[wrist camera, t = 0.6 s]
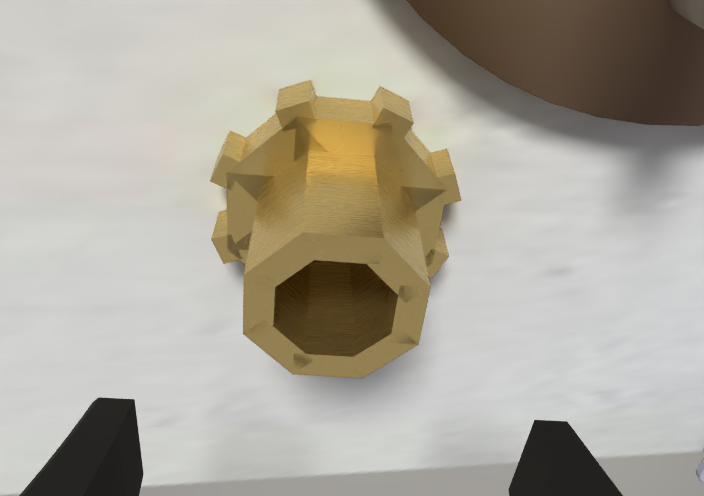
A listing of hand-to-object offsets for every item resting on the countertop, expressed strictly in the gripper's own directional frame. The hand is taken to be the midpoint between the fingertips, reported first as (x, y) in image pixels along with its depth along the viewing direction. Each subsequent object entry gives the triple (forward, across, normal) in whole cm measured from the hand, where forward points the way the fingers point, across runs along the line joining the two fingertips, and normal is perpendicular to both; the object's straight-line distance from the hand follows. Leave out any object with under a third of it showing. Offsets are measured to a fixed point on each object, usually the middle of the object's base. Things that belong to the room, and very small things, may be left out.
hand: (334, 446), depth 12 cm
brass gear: (+9, 0, 0) cm, 9 cm away
